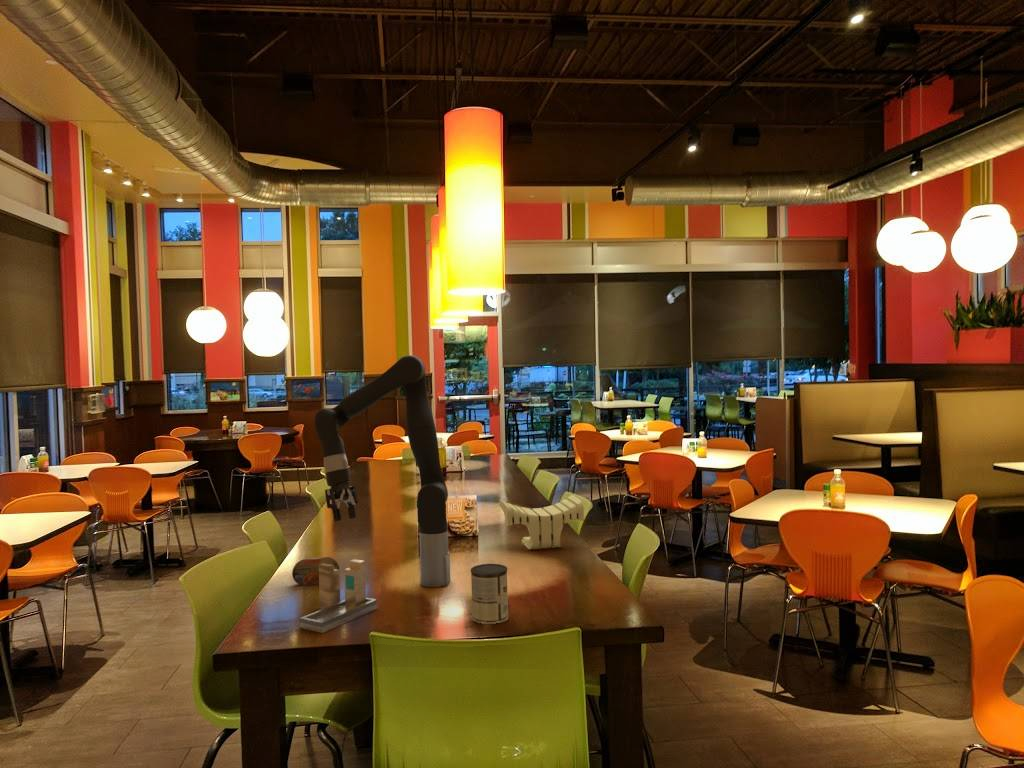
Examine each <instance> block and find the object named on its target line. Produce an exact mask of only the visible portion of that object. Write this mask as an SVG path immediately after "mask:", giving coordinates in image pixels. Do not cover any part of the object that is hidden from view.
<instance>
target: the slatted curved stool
mask: <svg viewBox="0 0 1024 768" xmlns="http://www.w3.org/2000/svg"><path fill="white" fill-rule="evenodd" d="M498 501H499V507H500V509H501V510H502V512H503V515H504V522H505V523H504V524H505V525H506V526H507V527H509V526H512V525H513V524H514V525H520V524H522V525H524V526H526V528H527V530H528V533H529V536H523V537H522V539H521V541H522V542H523V543H524V545H525V546H526V547H527V548H528V549H529V550H538V549H542V548H543V549H550V548H551V547H552V548H553V549H554V548H556V547H557V548H562V546H561V535H562V530H563V527H564V525H563V524H567V523H568V522H570V521H580V522H584V521H585V515H584V514H585V511H584V509H585V508H584V503H583V501H582V500H581V499H580V498H578V497H576V496H575V495H574V494H571V495H569V496H567V499H566V498H565V499H562V500H561V501H560V502H559V501H558V502H556V503H554V505H553V504H552V505H549V506H544V507H539V508H538V507H537V508H535V507H534V508H531V507H522V506H518V505H515V504H511V503H510V502H506V501H504V500H502V499H500V498H499V499H498ZM522 542H521V543H522ZM523 543H522V544H523ZM524 545H523V546H524ZM525 546H524V547H525ZM526 547H525V548H526ZM527 548H526V549H527ZM552 548H551V549H552ZM528 549H527V550H528Z"/></svg>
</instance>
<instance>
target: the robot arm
mask: <svg viewBox="0 0 1024 768" xmlns="http://www.w3.org/2000/svg"><path fill="white" fill-rule="evenodd" d="M426 377H427V376H426V366H425V363H424V362H423V360H422V359H421V358H420V357H418V356H416V355H410V354H408V355H403V356H401V357H400V358H399V359H398V360H397V361H396V362H395V363H394V364H393V365H391V367H389V368H388V369H387V370H385V371H384V372H383V373H382V374H381V375H379V376H377V378H376V377H375V379H373V380H372V381H370V382H368V383H366V384H365V385H363V386H361V387H359V388H357V389H356V390H353V392H351V393H350V394H348V395H346V396H344V397H343V398H342V399H340V401H339V404H338V405H336V406H334V407H333V408H331V409H329V408H322V409H319V410H318V411H317V412H316V413H315V415H314V428H315V431H316V434H317V437H318V440H319V443H320V444H321V450H322V458H323V466H324V467H323V468H324V473H325V479H326V483H327V484H326V485H327V486H328V487H330V488H327V489H324V493H325V500H326V508H327V509H330V510H331V511H332V514H333V520H334V522H341V521H342V519H343V518H342V513H341V509H340V506H341V504H342V503H343V504H344V503H345V505H346V507H347V511H348V516H349V517H348V518H349V519H350V520H352V519H356V518H357V512H356V505H357V504H359V499H358V494H357V490H356V486H355V485H351V486H350V485H349V483H351V482H352V479H351V472H350V469H349V468H350V467H349V462H348V458H347V455H346V450H345V445H344V444H345V443H344V440H343V439H342V438H341V436H340V435H339V432H338V430H339V429H340V428H342V427H343V426H345V425H347V423H348V422H349V421H351V420H352V419H353V418H354V417H356V416H358V415H359V414H361V413H362V412H364V411H366V410H368V409H369V408H370V407H372V406H373V405H375V404H376V403H377V402H379V401H380V400H381V399H382V398H383V397H385V396H386V395H388V394H390V393H391V392H393V391H395V390H397V389H399V388H401V387H402V388H403V392H404V397H405V405H406V406H405V425H406V431H407V432H406V433H407V437H408V442H409V443H408V444H409V446H410V450H411V452H412V455H413V457H414V459H415V460H414V461H415V462H416V465H417V468H418V472H419V480H420V489H419V491H418V493H417V498H416V500H417V502H416V503H417V504H416V505H417V523H418V527H419V529H418V530H419V559H420V560H419V561H420V562H419V563H420V569H419V570H420V571H419V572H420V586H423V587H425V588H438V587H439V588H440V587H447V586H448V585H449V583H450V582H451V558H450V556H451V555H450V551H449V532H448V531H449V529H448V528H449V527H448V524H449V523H448V521H447V509H446V508H447V505H446V504H447V501H448V499H449V493H448V491H449V490H448V487H447V484H446V481H445V478H444V473H443V471H442V466H441V460H440V449H439V448H440V447H439V441H438V435H437V429H436V424H435V419H434V415H433V411H432V407H431V404H430V400H429V396H428V390H427V378H426Z"/></svg>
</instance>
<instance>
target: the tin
mask: <svg viewBox="0 0 1024 768" xmlns="http://www.w3.org/2000/svg"><path fill="white" fill-rule="evenodd" d="M323 563H325V564H331V565H334V569H338V570H339V571H340V566H339V563H338V562H337V560H336V559H334V558H333V557H330V556H322V557H313V558H305V559H301V560H299V561H297V562H296V563H295V565H293V568H292V572H291V575H292V579H293V581H294V582H295V583H296V584H298V585H300V586H310V585H311V586H312V585H319V565H320V564H323Z"/></svg>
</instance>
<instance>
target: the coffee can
mask: <svg viewBox="0 0 1024 768" xmlns="http://www.w3.org/2000/svg"><path fill="white" fill-rule="evenodd" d="M470 575H471V576H470V577H471V578H470V579H471V581H470V582H471V583H470V584H471V607H472V608H471V609H472V613H471V614H472V617H471V620H472V621H473V622H474V621H475V622H474V623H476V622H477V624H480V623H481V625H496V623H498V624H502V623H504V622H506V621H508V619H509V604H508V603H509V600H508V567H507V565H503V564H499V563H483V564H482V563H481V564H478V565H475V566H473V567H471V568H470Z"/></svg>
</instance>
